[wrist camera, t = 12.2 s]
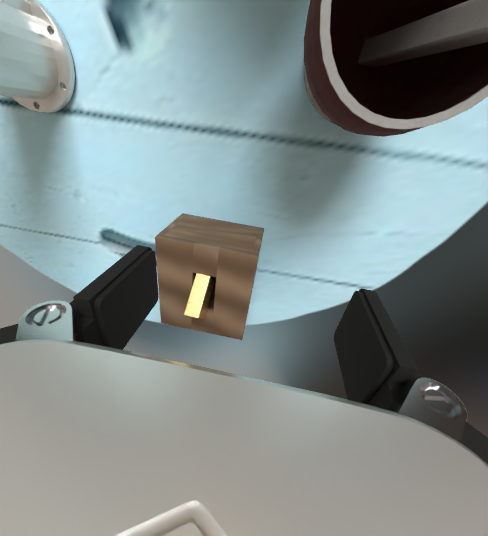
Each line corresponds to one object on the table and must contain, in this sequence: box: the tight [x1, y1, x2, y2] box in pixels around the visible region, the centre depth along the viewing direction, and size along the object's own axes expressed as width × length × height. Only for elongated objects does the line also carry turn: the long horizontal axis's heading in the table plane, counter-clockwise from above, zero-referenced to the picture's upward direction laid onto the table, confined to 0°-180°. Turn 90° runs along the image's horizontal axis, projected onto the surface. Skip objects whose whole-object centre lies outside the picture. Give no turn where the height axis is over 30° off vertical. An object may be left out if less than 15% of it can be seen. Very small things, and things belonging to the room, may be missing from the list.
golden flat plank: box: [184, 273, 214, 319], centre depth 35 cm, size 5×2×6 cm
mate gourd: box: [304, 0, 488, 136], centre depth 19 cm, size 16×14×20 cm
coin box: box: [155, 214, 264, 340], centre depth 40 cm, size 16×14×10 cm
